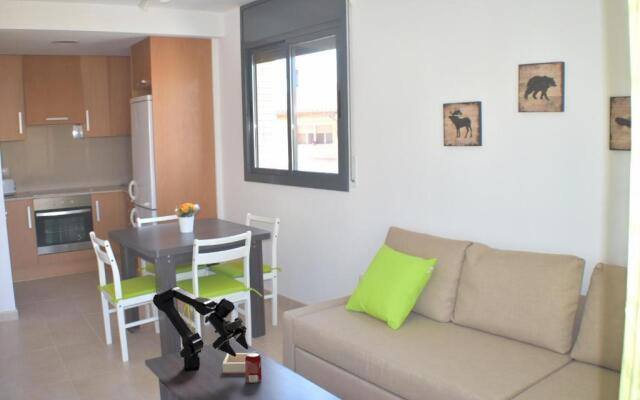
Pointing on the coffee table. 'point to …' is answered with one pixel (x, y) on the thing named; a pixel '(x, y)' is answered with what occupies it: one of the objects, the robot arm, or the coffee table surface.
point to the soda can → (253, 367)
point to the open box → (234, 363)
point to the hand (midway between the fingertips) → (241, 352)
